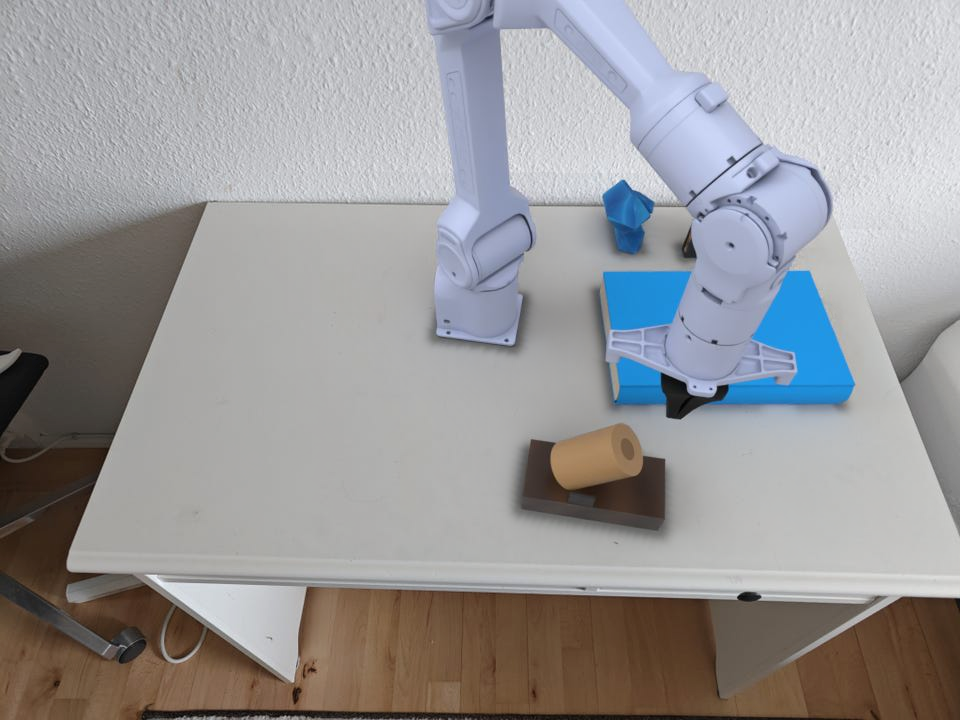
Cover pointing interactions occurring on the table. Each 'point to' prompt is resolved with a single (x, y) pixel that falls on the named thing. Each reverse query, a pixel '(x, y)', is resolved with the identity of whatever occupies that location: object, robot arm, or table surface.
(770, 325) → the book
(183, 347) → the table surface
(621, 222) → the crystal
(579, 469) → the towel roll
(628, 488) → the stand
